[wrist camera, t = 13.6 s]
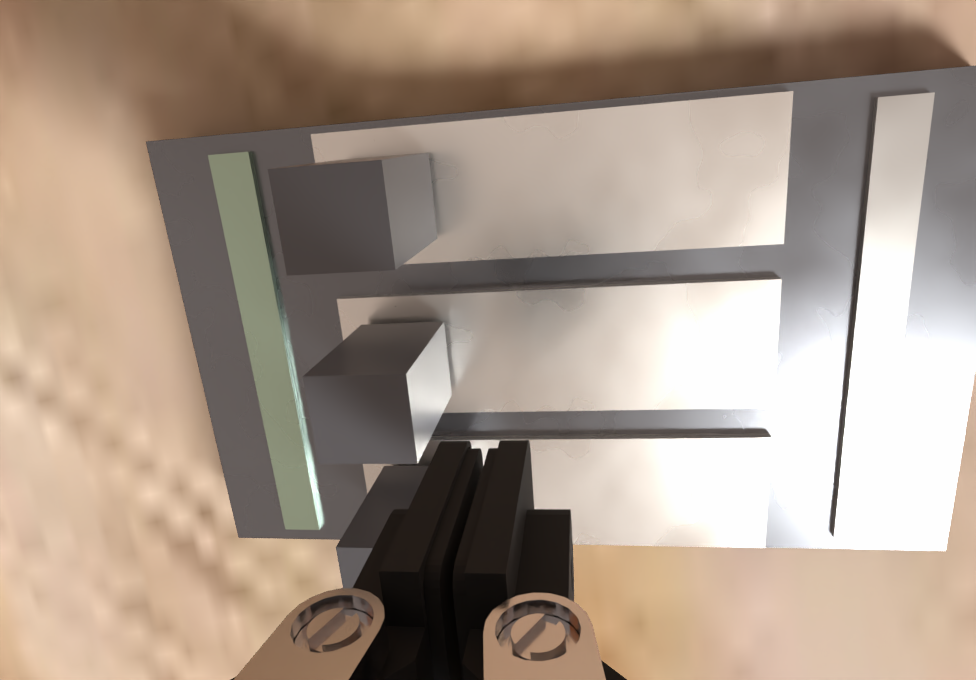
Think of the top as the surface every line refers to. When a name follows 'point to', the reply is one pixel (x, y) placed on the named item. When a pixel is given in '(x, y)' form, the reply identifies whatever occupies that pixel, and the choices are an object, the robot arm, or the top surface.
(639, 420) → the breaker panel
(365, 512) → the handle
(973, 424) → the top surface
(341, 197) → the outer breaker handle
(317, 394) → the handle
